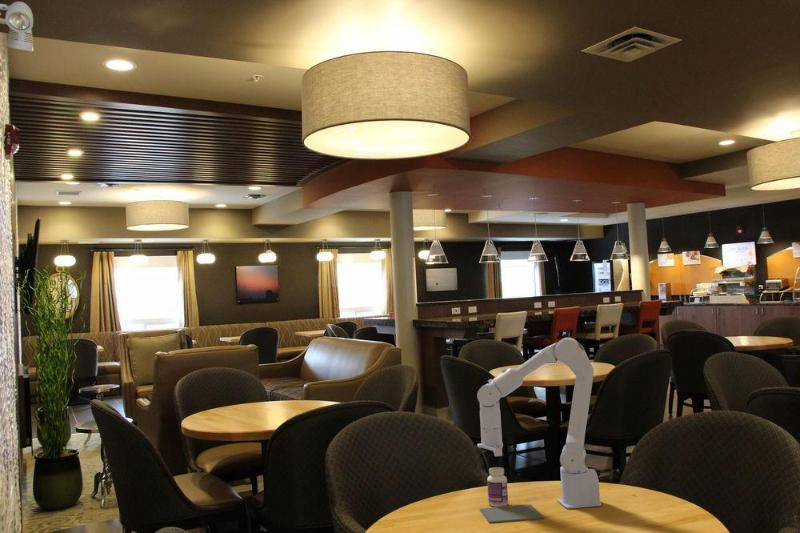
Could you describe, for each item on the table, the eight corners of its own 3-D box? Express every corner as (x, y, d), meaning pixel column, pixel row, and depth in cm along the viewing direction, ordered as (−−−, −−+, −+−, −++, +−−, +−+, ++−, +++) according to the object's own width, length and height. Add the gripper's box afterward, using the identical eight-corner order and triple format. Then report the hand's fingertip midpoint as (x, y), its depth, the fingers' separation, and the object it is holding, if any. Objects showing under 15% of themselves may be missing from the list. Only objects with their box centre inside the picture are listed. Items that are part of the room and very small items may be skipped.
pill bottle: (507, 507, 178) (505, 471, 179) (487, 507, 179) (485, 471, 180) (508, 501, 183) (506, 466, 184) (489, 501, 184) (487, 466, 185)
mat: (530, 505, 179) (530, 504, 179) (544, 518, 168) (544, 516, 168) (479, 510, 177) (479, 508, 177) (489, 523, 166) (489, 521, 166)
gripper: (471, 424, 193) (474, 471, 192) (482, 433, 179) (485, 484, 178) (495, 422, 194) (497, 470, 193) (508, 431, 179) (511, 482, 179)
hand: (493, 477), depth 186 cm, fingers closed
